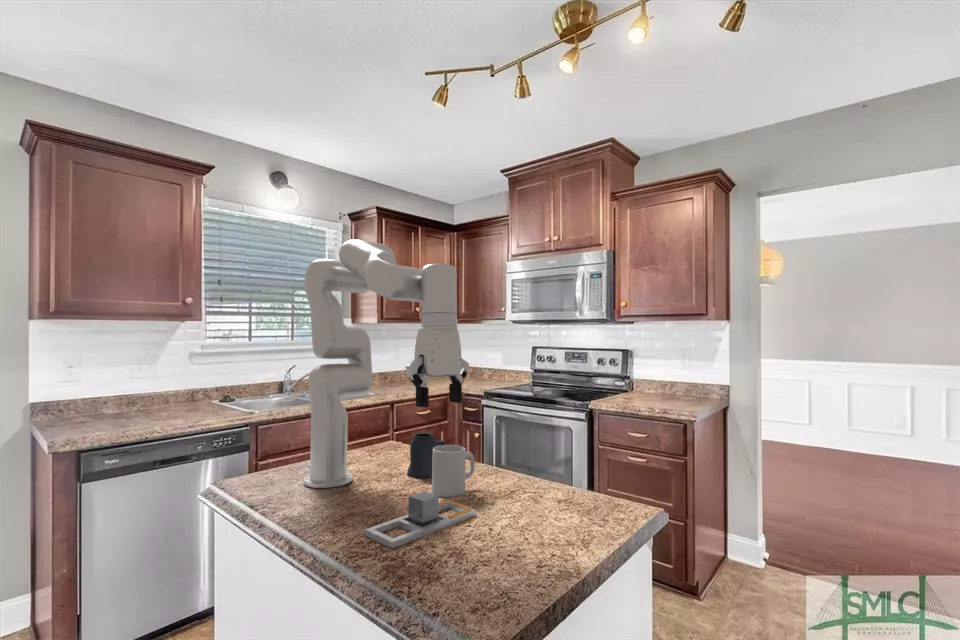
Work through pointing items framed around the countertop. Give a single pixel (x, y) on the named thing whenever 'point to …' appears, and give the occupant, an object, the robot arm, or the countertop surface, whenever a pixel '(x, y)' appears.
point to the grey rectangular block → (423, 509)
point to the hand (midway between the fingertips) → (439, 404)
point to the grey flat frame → (416, 530)
